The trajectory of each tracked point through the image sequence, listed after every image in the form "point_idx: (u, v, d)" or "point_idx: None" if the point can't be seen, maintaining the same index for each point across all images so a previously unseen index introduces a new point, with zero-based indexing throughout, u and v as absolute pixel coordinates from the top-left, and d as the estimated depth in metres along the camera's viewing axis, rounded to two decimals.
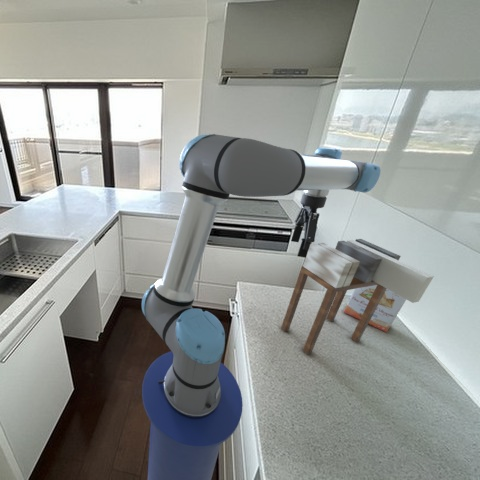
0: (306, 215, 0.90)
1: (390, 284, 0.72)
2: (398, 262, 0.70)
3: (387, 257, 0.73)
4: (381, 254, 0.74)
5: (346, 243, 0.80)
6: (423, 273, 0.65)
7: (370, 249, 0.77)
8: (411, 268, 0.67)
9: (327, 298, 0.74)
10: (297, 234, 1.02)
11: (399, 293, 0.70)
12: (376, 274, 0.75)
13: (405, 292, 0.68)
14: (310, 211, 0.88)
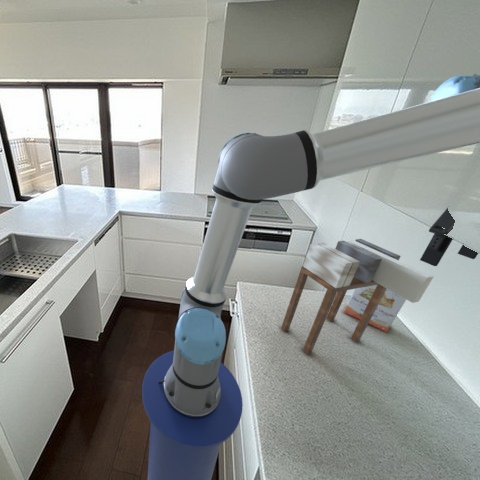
0: None
1: (390, 284, 0.72)
2: (398, 262, 0.70)
3: (387, 257, 0.73)
4: (381, 254, 0.74)
5: (346, 243, 0.80)
6: (423, 273, 0.65)
7: (370, 249, 0.77)
8: (411, 268, 0.67)
9: (327, 298, 0.74)
10: None
11: (399, 293, 0.70)
12: (376, 274, 0.75)
13: (405, 292, 0.68)
14: None
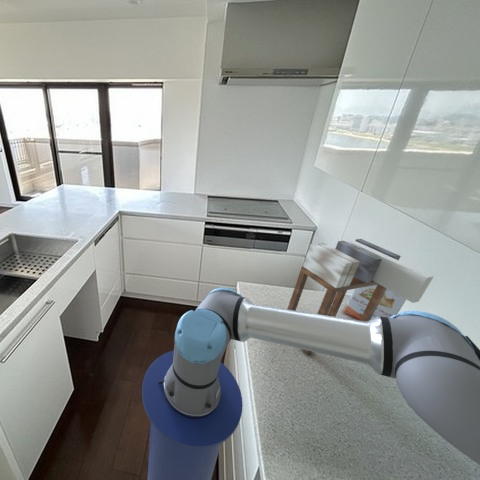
0: None
1: (390, 284, 0.72)
2: (398, 262, 0.70)
3: (387, 257, 0.73)
4: (381, 254, 0.74)
5: (346, 243, 0.80)
6: (423, 273, 0.65)
7: (370, 249, 0.77)
8: (411, 268, 0.67)
9: (327, 298, 0.74)
10: None
11: (399, 293, 0.70)
12: (376, 274, 0.75)
13: (405, 292, 0.68)
14: None
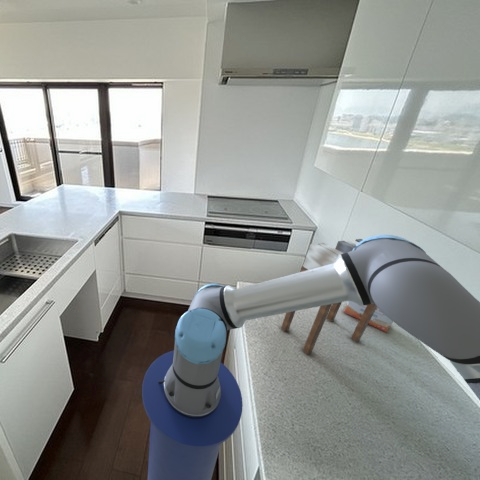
0: None
1: None
2: None
3: None
4: None
5: (346, 243, 0.80)
6: None
7: None
8: None
9: None
10: None
11: None
12: None
13: None
14: None
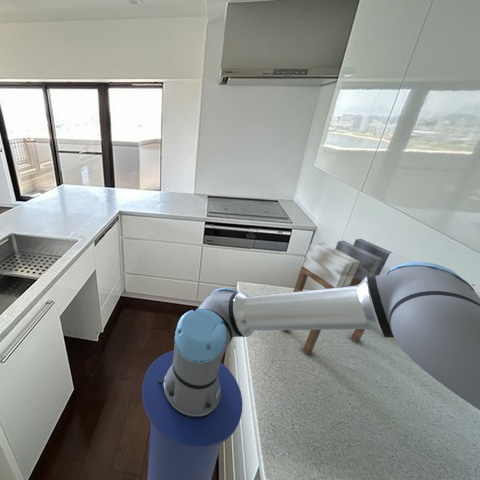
0: None
1: None
2: None
3: None
4: None
5: (346, 243, 0.80)
6: None
7: None
8: None
9: None
10: None
11: None
12: None
13: None
14: None
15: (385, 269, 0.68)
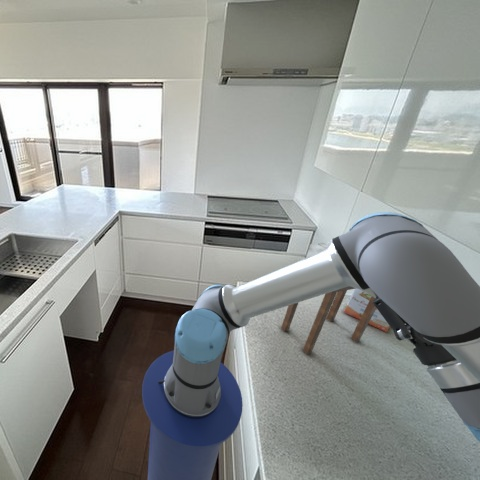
0: None
1: (369, 288, 0.69)
2: None
3: None
4: None
5: None
6: None
7: None
8: None
9: (327, 298, 0.74)
10: None
11: None
12: None
13: None
14: (417, 339, 0.58)
15: None
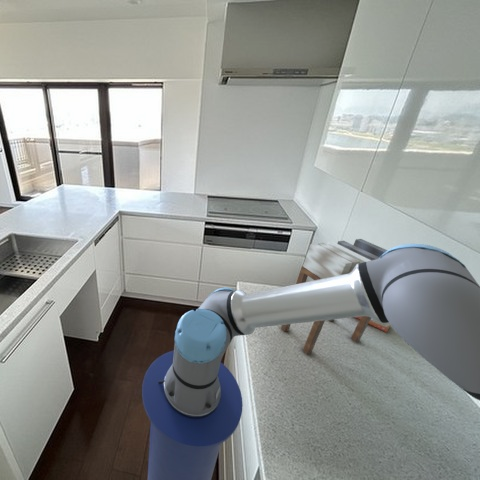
0: None
1: None
2: None
3: (366, 260, 0.70)
4: (360, 257, 0.72)
5: (346, 243, 0.80)
6: None
7: (350, 252, 0.75)
8: None
9: None
10: None
11: None
12: None
13: None
14: None
15: None
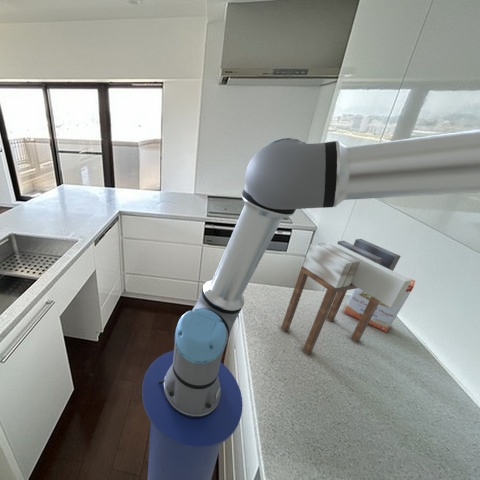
0: None
1: (369, 288, 0.69)
2: (377, 265, 0.68)
3: (366, 260, 0.70)
4: (360, 257, 0.72)
5: (346, 243, 0.80)
6: (401, 277, 0.63)
7: (350, 252, 0.75)
8: (389, 272, 0.65)
9: (327, 298, 0.74)
10: None
11: (377, 297, 0.67)
12: (355, 277, 0.73)
13: (383, 296, 0.66)
14: None
15: None
